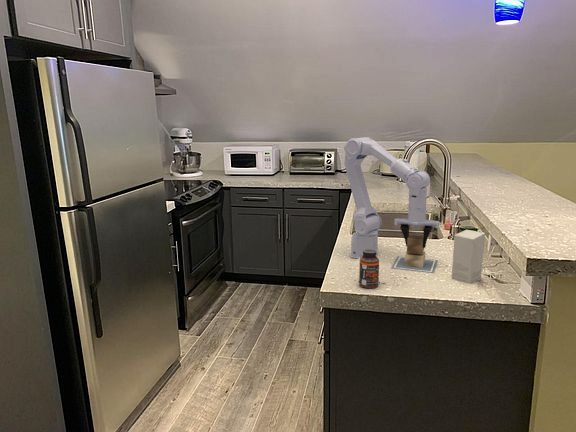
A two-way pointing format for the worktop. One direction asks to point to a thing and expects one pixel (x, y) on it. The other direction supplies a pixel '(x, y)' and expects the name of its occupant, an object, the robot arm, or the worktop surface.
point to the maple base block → (415, 259)
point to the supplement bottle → (369, 269)
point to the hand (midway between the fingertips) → (415, 246)
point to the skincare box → (468, 256)
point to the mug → (428, 190)
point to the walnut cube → (415, 244)
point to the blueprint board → (427, 267)
